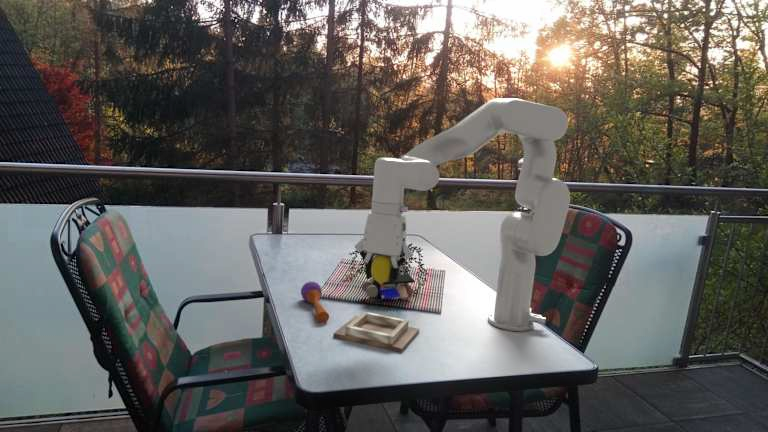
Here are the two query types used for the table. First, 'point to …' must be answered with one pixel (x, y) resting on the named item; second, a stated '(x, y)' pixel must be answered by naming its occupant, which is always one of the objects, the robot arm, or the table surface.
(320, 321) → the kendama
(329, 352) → the table surface
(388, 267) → the lemon
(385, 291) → the figurine character
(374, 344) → the jig board
